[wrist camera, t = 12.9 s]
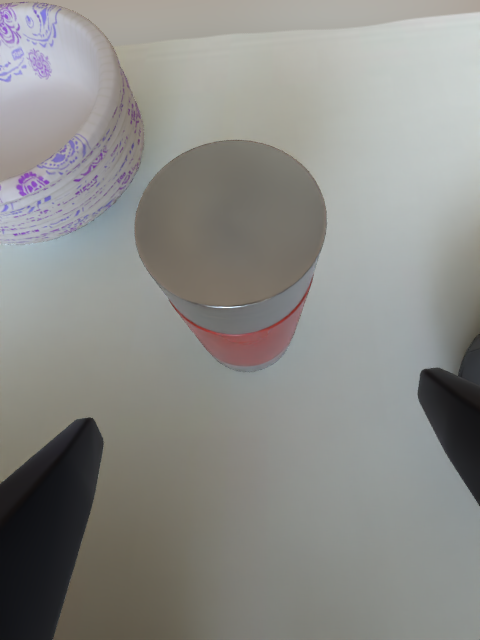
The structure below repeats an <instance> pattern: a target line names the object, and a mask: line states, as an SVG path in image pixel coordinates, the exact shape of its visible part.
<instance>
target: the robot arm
mask: <svg viewBox="0 0 480 640" xmlns="http://www.w3.org/2000/svg"><path fill="white" fill-rule="evenodd" d="M418 399H419V402H420V404H421V406H422V408H423V410H424V412H425V414H426V416H427V418H428V420H429V422H430V424H431V426H432V428H433V430H434V432H435V434H436V436H437V437H438V439H439V441H440V443H441V445H442V447H443V449H444V451H445V453H446V454H447V456H448V458H449V459H450V461H451V462H452V464H453V466H454V467H455V469H456V470H457V472H458V473H459V475H460V476H461V478H462V479H463V481H464V483H465V484H466V486H467V487H468V489H469V490H470V492H471V493H472V495H473V496H474V498H475V500H476V501H477V503H478V504H479V506H480V386H479V385H477V384H475V383H473V382H470V381H468V380H466V379H464V378H461V377H459V376H457V375H454V374H452V373H450V372H448V371H445V370H443V369H441V368H429V369H424V370H422V371H421V373H420V380H419V387H418ZM103 447H104V441H103V437H102V435H101V433H100V431H99V429H98V427H97V425H96V422H95V421H94V419H93V418H90V417H89V418H82V419H77V420H75V421H74V422H73V423H71V424H70V425H69V426H68V427H67V428H66V429H64V430H63V431H62V432H61V433H60V434H59V435H57V436H56V437H55V438H54V439H53V440H51V441H50V442H49V443H48V444H47V445H46V446H44V447H43V448H42V449H41V450H40V451H38V452H37V453H36V454H35V455H34V456H33V457H31V458H30V459H29V460H28V461H27V462H26V463H24V464H23V465H22V466H21V467H20V468H18V469H17V470H16V471H15V472H14V473H13V474H11V475H10V476H9V477H8V478H7V479H5V480H4V481H3V482H2V483H1V484H0V640H53V637H54V634H55V630H56V627H57V623H58V620H59V617H60V613H61V610H62V606H63V603H64V600H65V596H66V593H67V589H68V586H69V583H70V579H71V576H72V572H73V569H74V566H75V562H76V559H77V555H78V552H79V549H80V545H81V542H82V538H83V535H84V532H85V528H86V525H87V522H88V518H89V515H90V511H91V508H92V504H93V500H94V495H95V490H96V485H97V480H98V474H99V469H100V463H101V458H102V453H103Z"/></svg>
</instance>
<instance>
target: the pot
mask: <svg viewBox="0 0 480 640" xmlns="http://www.w3.org/2000/svg"><path fill="white" fill-rule="evenodd" d="M458 376H459V377H461V378H464V379H466V380H468V381H470V382H473V383H475V384H477V385H479V386H480V334H479V335H478V336H477V337H476V338H475V339H474V341H473V342H472V344H471V345H470V347H469V348H468V350H467V352H466V354H465V356H464V359H463V361H462V364H461V367H460V371H459V374H458Z"/></svg>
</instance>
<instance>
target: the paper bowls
mask: <svg viewBox="0 0 480 640" xmlns="http://www.w3.org/2000/svg"><path fill="white" fill-rule="evenodd" d="M143 149H144V125H143V121H142V117H141V113H140V110H139V109H138V106H137V103H136V101H135V99H134V96H133V93H132V91H131V89H130V86H129V83H128V80H127V78H126V76H125V74H124V72H123V70H122V68H121V66H120V63H119V60H118V57H117V54H116V52H115V50H114V48H113V46H112V45H111V43H110V42H109V40H108V39H107V37H106V36H105V35H104V33H103V32H102V31H101V30H100V29H99V28H98V27H97V26H96V25H94V24H93V23H92V22H91V21H90V20H88V19H87V18H85V17H84V16H82V15H80V14H78V13H76V12H74V11H71V10H69V9H67V8H63V7H60V6H57V5H51V4H47V3H38V2H37V3H36V2H16V3H6V4H0V244H8V245H11V244H16V245H25V244H32V243H40V242H44V241H49V240H52V239H57V238H59V237H61V236H63V235H66V234H69V233H71V232H72V231H76V230H77V229H79V228H80V227H83V226H85V225H87V224H88V223H89V222H90V221H93V220H94V219H95V218H97V217H98V216H99V215H101V214H102V213H103V212H104V211H105V210H107V209H108V208H109V207H110V206H111V205H112V204H114V203H115V202H116V200H117V199H118V198H119V197H120V196H121V195H122V193H123V192H124V191H125V190H126V189H127V187H128V185H129V184H130V183H131V182H132V180H133V177H134V176H135V174H136V172H137V169H138V168H139V167H138V166H139V165H140V163H141V158H142V153H143Z"/></svg>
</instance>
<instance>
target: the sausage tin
mask: <svg viewBox="0 0 480 640" xmlns="http://www.w3.org/2000/svg"><path fill="white" fill-rule="evenodd" d="M326 228H327V211H326V206H325V202H324V198H323V196H322V193H321V190H320V188H319V186H318V185H317V183H316V181H315V179H314V178H313V177H312V175H311V174H310V173H309V171H308V170H307V169H306V168H305V167H304V166H303V165H302V164H301V163H300V162H298V161H297V160H296V159H294V158H293V157H292V156H290V155H288V154H287V153H285V152H283V151H281V150H279V149H277V148H275V147H272V146H269V145H266V144H263V143H258V142H253V141H244V140H226V141H218V142H213V143H209V144H205V145H202V146H199V147H196V148H193V149H191V150H189V151H187V152H185V153H183V154H181V155H180V156H178V157H176V158H175V159H173V160H172V161H170V162H169V163H168V164H167V165H165V166H164V167H163V168H162V169H161V170H160V171H159V172H158V173H157V174H156V175H155V176H154V178H153V179H152V180H151V181H150V183H149V184H148V186H147V188H146V189H145V191H144V193H143V195H142V197H141V199H140V201H139V205H138V208H137V211H136V217H135V241H136V247H137V250H138V253H139V256H140V258H141V260H142V262H143V264H144V266H145V268H146V269H147V271H148V272H149V274H150V275H151V277H152V278H153V279H154V280H155V282H156V283H157V284H158V286H159V287H160V288H161V290H162V291H163V292H164V294H165V295H166V296H167V297H168V299H169V301H170V303H171V304H172V306H173V307H174V309H175V310H176V311H177V313H178V314H179V315H180V316H181V318H182V319H183V320H184V322H185V323H186V324H187V325H188V327H189V328H190V329H191V331H192V332H193V333H194V334H195V336H196V337H197V338H198V340H199V341H200V342H201V343H202V345H203V346H204V347H205V348H206V350H207V351H208V352H209V353H210V354H211V355H212V356H213V357H214V358H215V359H216V360H217V361H218V362H219V363H220V364H222V365H223V366H225V367H227V368H229V369H232V370H235V371H240V372H255V371H259V370H262V369H265V368H267V367H269V366H271V365H273V364H274V363H276V362H277V361H278V360H279V359H280V358H281V357H282V356H283V355H284V353H285V352H286V350H287V349H288V347H289V345H290V342H291V339H292V338H293V335H294V333H295V330H296V327H297V324H298V321H299V319H300V316H301V313H302V310H303V307H304V304H305V301H306V298H307V295H308V292H309V289H310V286H311V283H312V279H313V275H314V270H315V267H316V264H317V261H318V258H319V255H320V252H321V249H322V246H323V243H324V239H325V235H326Z"/></svg>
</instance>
